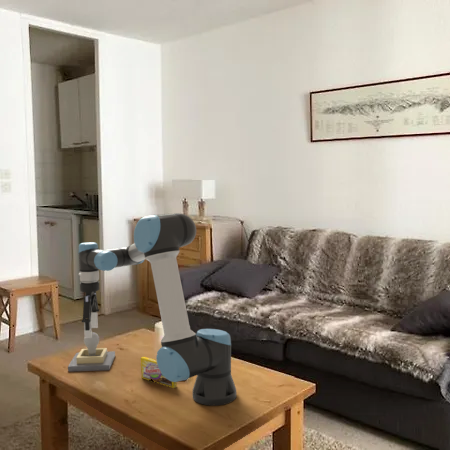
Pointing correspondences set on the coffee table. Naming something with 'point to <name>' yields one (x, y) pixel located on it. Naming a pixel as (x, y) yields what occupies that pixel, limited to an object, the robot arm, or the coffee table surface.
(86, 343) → the lightbulb
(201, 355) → the robot arm
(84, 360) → the lamp base
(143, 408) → the coffee table surface
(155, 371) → the candy box
